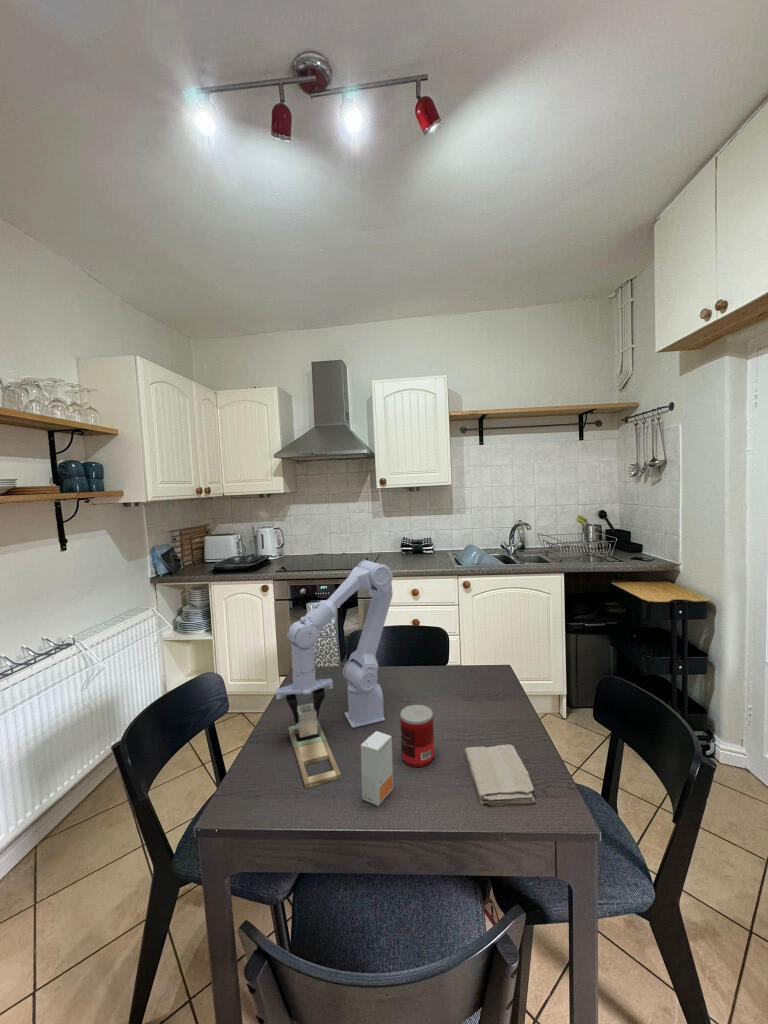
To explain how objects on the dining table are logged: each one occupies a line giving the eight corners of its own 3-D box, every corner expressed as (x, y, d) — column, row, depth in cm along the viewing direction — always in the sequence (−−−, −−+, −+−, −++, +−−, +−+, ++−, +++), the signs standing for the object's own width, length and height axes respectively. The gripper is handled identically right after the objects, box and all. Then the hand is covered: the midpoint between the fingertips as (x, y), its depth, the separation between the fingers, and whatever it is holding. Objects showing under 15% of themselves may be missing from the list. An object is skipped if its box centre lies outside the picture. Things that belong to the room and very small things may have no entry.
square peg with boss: (313, 724, 116) (312, 701, 116) (317, 733, 112) (316, 710, 111) (296, 728, 115) (295, 705, 114) (299, 737, 110) (298, 713, 110)
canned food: (437, 750, 107) (435, 706, 106) (429, 770, 99) (428, 724, 99) (407, 744, 109) (405, 702, 109) (397, 764, 102) (396, 719, 101)
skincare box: (379, 807, 89) (376, 750, 88) (361, 799, 91) (359, 744, 90) (394, 789, 94) (392, 735, 93) (377, 782, 96) (375, 730, 95)
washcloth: (481, 810, 88) (480, 795, 87) (462, 754, 105) (462, 742, 105) (539, 806, 88) (539, 792, 88) (511, 752, 106) (511, 739, 106)
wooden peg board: (318, 724, 120) (317, 720, 120) (340, 778, 98) (340, 773, 98) (288, 731, 117) (288, 726, 117) (305, 788, 95) (305, 783, 95)
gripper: (277, 680, 106) (279, 733, 107) (334, 669, 112) (337, 720, 112) (273, 669, 113) (276, 719, 114) (328, 659, 118) (330, 707, 119)
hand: (306, 719), depth 114 cm, fingers closed on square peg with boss, 4 cm apart
